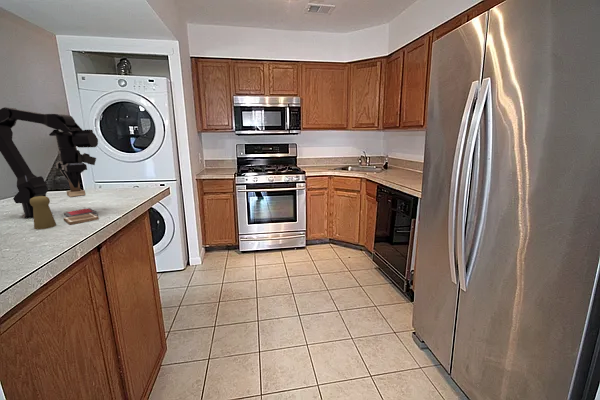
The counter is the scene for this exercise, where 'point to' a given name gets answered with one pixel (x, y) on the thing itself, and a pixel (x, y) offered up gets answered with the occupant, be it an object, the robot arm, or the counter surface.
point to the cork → (42, 213)
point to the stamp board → (81, 218)
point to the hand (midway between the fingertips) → (74, 187)
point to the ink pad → (79, 212)
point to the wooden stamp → (75, 191)
